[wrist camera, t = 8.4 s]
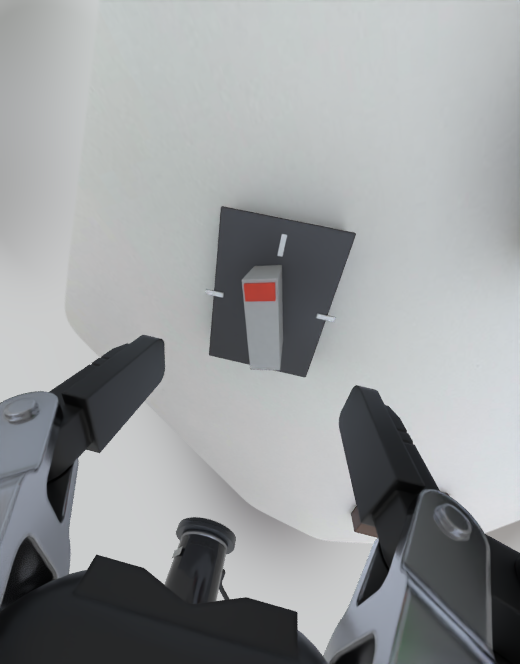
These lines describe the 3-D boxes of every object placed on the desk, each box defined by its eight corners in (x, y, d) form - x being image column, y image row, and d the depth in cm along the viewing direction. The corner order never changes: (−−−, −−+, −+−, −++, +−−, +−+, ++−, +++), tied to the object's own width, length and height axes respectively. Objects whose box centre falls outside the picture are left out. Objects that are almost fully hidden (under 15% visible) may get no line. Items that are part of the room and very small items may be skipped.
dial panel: (310, 360, 22) (312, 380, 19) (213, 338, 23) (201, 354, 20) (354, 233, 17) (366, 235, 14) (224, 207, 17) (211, 204, 14)
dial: (283, 339, 18) (280, 372, 14) (259, 339, 18) (249, 371, 14) (282, 264, 15) (277, 279, 11) (254, 265, 16) (240, 280, 12)
